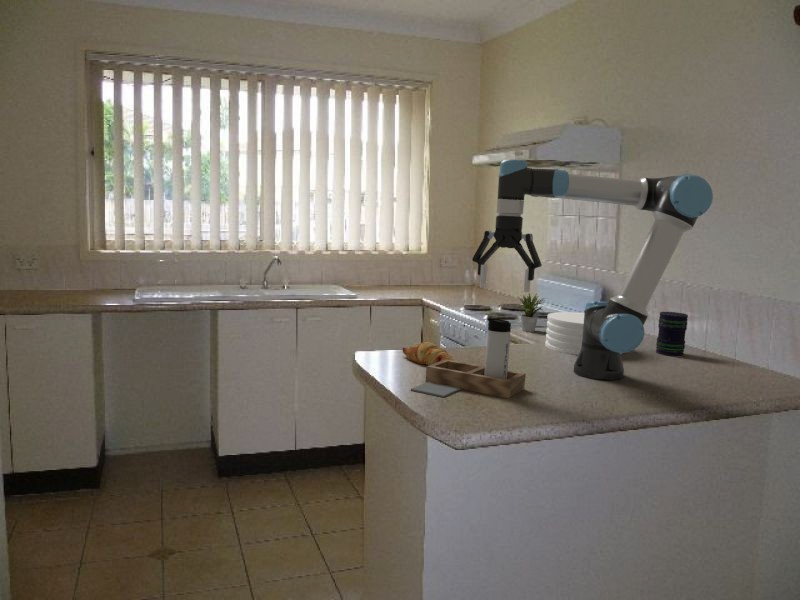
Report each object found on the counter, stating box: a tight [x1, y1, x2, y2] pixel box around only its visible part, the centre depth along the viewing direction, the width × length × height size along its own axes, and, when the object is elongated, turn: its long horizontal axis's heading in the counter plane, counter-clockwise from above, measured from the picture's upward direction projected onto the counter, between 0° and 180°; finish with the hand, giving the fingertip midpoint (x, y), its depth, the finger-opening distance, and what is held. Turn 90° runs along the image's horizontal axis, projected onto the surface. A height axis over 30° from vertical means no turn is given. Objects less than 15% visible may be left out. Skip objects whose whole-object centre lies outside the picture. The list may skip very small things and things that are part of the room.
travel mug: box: [484, 316, 512, 380], centre depth 193 cm, size 6×7×20 cm
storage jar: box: [655, 311, 689, 357], centre depth 258 cm, size 10×10×15 cm
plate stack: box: [544, 311, 623, 356], centre depth 260 cm, size 28×28×12 cm
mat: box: [410, 382, 462, 398], centre depth 190 cm, size 10×10×1 cm
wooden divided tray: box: [425, 359, 526, 399], centre depth 197 cm, size 25×12×4 cm, turn 59°
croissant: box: [402, 340, 455, 366], centre depth 223 cm, size 21×10×8 cm, turn 50°
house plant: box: [515, 292, 547, 333], centre depth 289 cm, size 14×14×16 cm
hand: (504, 289), depth 202 cm, fingers open, 13 cm apart
